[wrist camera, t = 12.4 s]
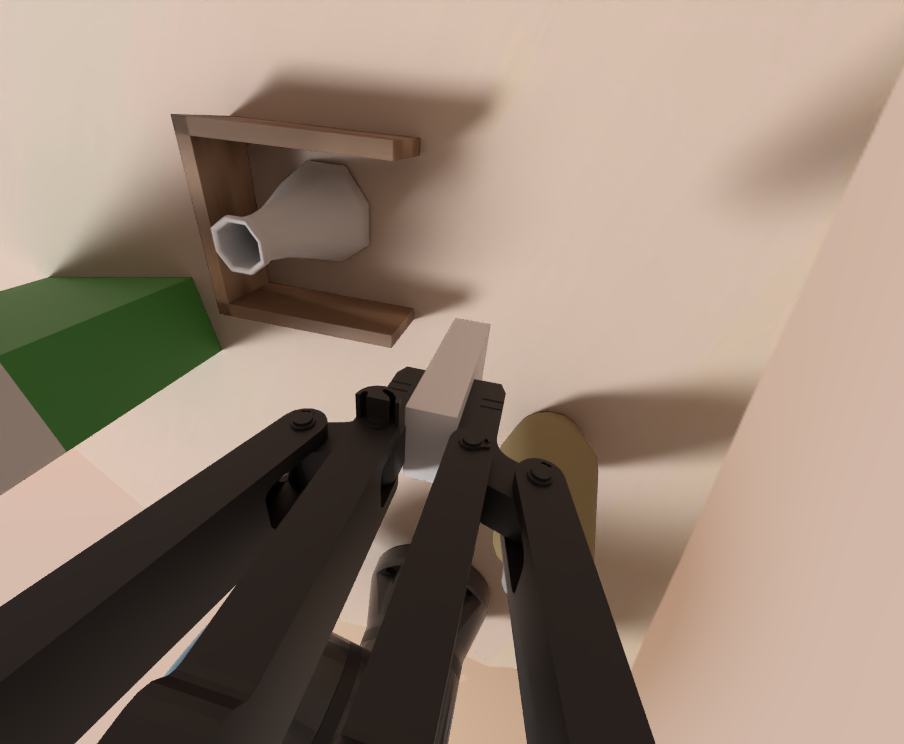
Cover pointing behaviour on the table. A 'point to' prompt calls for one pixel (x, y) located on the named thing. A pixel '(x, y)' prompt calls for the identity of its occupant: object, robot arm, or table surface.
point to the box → (231, 193)
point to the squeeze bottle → (558, 464)
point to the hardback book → (89, 358)
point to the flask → (298, 221)
